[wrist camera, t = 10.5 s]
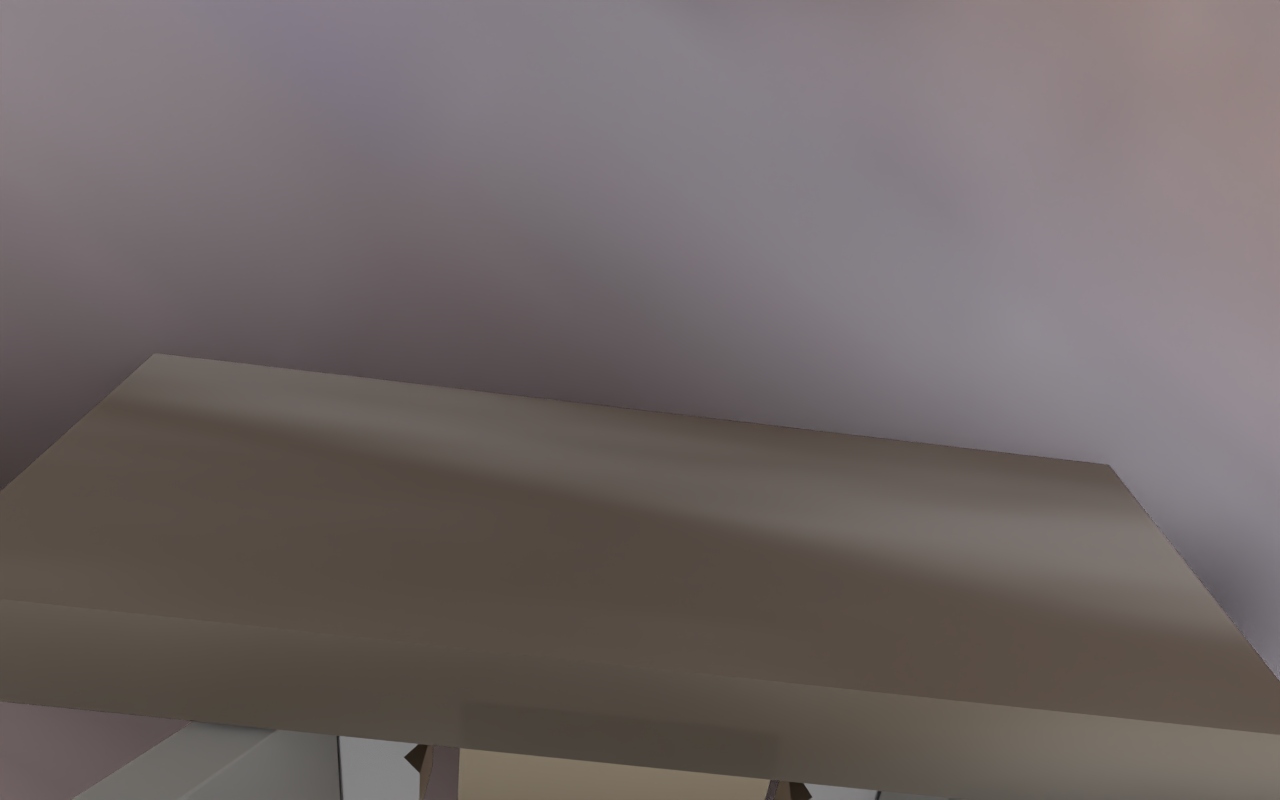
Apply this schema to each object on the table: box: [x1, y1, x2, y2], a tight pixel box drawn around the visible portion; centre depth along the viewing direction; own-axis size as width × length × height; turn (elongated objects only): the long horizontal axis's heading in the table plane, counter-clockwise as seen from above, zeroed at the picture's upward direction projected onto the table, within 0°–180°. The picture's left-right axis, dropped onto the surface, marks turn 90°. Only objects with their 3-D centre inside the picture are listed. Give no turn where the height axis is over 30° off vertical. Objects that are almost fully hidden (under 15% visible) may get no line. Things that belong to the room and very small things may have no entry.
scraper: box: [0, 353, 1280, 800], centre depth 11 cm, size 8×12×4 cm, turn 83°
